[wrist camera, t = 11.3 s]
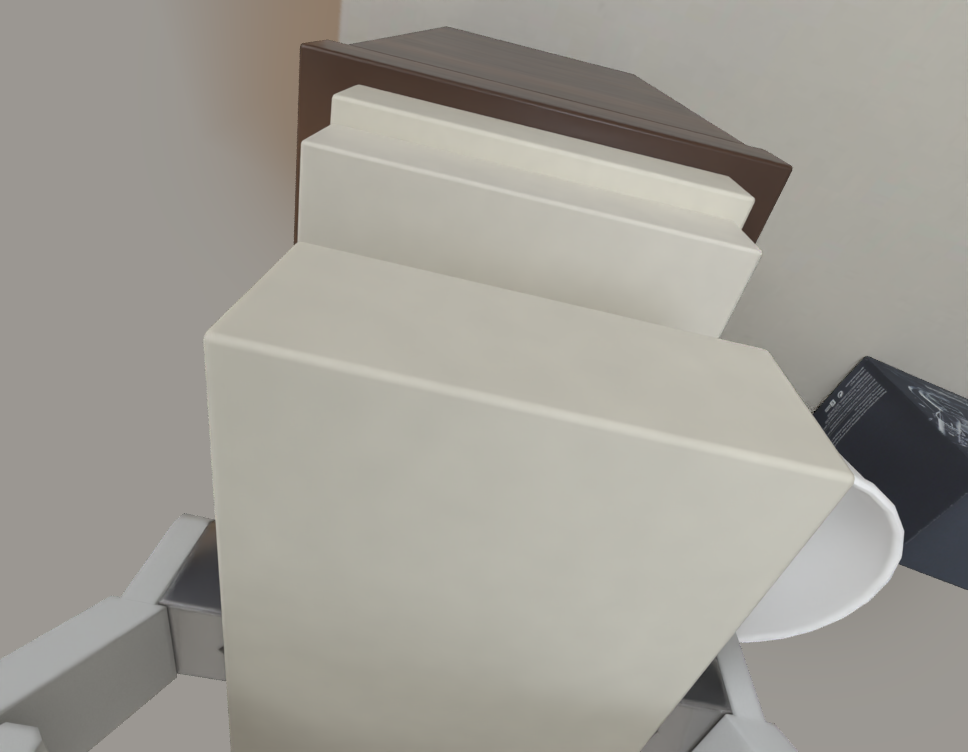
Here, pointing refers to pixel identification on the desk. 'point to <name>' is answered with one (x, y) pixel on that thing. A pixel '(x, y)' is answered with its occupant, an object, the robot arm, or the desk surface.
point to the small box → (908, 459)
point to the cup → (832, 568)
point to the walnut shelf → (533, 102)
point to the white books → (526, 211)
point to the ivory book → (487, 510)
